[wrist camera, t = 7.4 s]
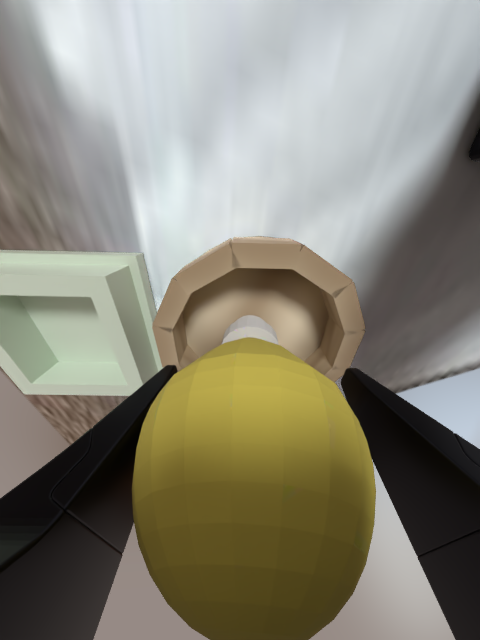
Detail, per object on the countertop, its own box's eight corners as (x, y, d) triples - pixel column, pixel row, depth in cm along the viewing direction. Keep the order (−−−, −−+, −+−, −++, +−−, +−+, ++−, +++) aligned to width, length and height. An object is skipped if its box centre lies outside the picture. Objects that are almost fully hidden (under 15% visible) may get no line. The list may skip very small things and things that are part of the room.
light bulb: (315, 352, 12) (468, 674, 4) (228, 379, 14) (191, 643, 5) (282, 260, 10) (615, 714, 1) (177, 307, 11) (-72, 620, 3)
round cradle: (362, 238, 10) (401, 246, 7) (315, 381, 15) (329, 412, 13) (157, 233, 10) (129, 240, 7) (184, 379, 15) (173, 410, 13)
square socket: (142, 253, 10) (112, 265, 8) (170, 370, 15) (156, 401, 12) (-20, 249, 10) (-102, 260, 8) (57, 368, 15) (20, 399, 12)
